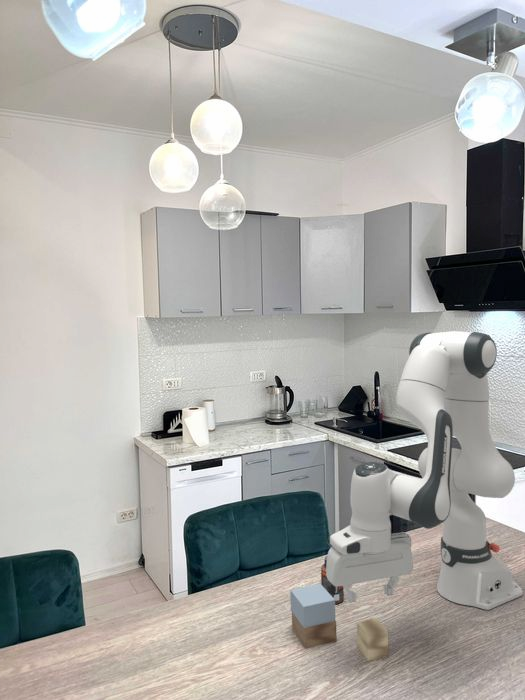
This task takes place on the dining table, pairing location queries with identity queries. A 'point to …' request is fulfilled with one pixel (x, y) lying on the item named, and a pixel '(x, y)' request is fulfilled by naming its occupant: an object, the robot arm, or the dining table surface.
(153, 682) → the dining table surface
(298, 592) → the tower top
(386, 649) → the maple block
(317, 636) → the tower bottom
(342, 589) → the supplement bottle
